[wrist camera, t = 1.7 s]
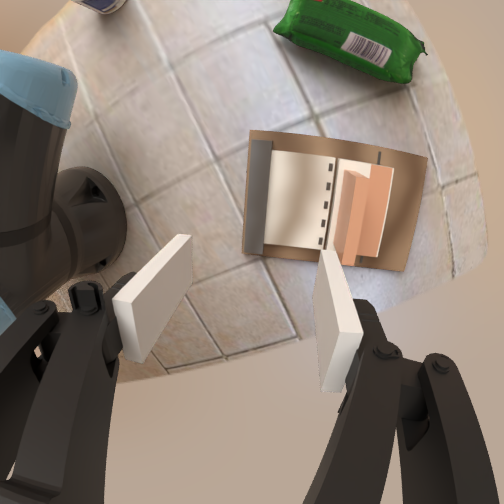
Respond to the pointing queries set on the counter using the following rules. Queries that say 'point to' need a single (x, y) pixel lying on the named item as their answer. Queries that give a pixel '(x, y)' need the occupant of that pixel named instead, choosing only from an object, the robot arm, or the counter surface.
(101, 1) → the pill bottle
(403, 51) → the snack package
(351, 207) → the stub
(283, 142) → the wooden base board
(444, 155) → the counter surface
